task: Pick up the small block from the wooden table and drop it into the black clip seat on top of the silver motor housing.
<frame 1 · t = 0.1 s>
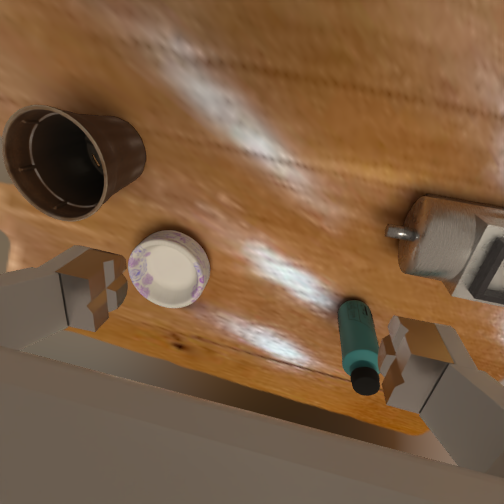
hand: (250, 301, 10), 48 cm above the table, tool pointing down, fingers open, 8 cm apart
motor: (470, 231, 54), on the table
paper bowls: (180, 257, 67), on the table
beverage bottle: (353, 307, 65), on the table
plant pot: (117, 149, 60), on the table
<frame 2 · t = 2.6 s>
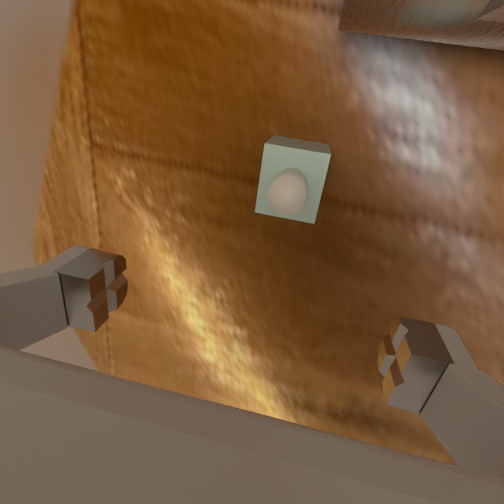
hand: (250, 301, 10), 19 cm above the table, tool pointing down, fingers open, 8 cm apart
block: (295, 170, 27), on the table
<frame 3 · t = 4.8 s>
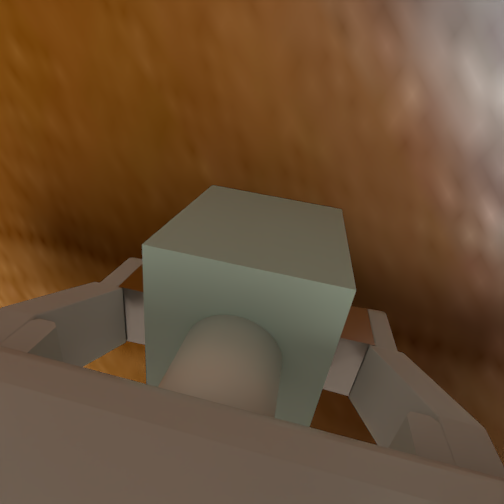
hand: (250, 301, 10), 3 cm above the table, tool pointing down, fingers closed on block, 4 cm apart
block: (264, 260, 12), on the table, touching gripper
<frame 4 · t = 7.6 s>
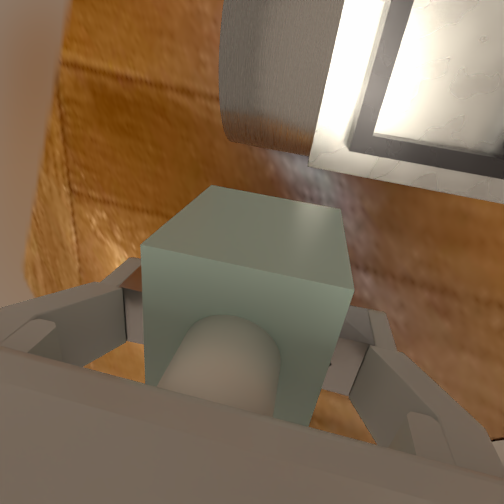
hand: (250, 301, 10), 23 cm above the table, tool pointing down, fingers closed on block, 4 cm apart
motor: (396, 77, 26), on the table
block: (263, 260, 12), point 20 cm above the table, touching gripper
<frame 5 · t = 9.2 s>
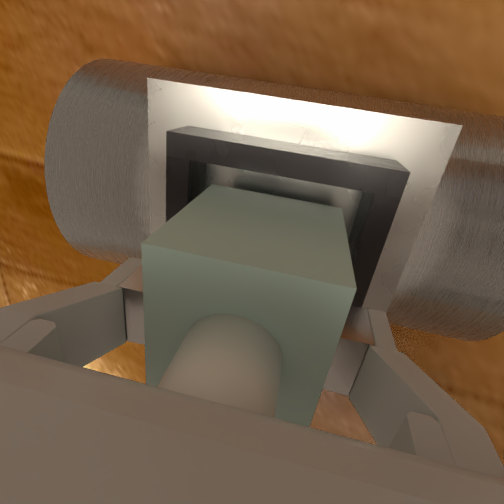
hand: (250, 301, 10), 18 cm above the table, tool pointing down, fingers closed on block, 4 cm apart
motor: (294, 173, 25), on the table
block: (264, 259, 12), point 15 cm above the table, touching gripper
when the fingers open (17 cm above the table, at t = 10.4 s): block stays where it is, resting on motor.
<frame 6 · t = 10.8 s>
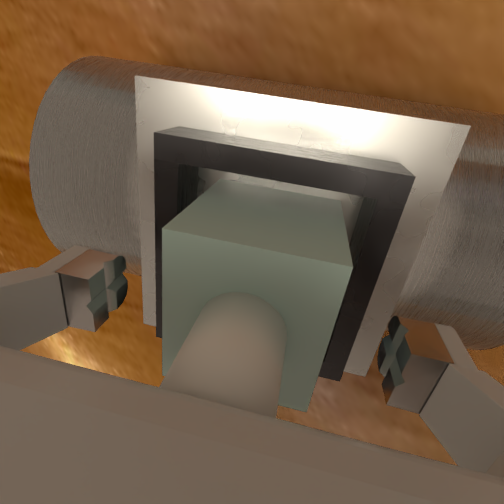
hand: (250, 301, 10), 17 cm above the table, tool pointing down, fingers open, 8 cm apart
motor: (292, 174, 25), on the table
block: (268, 249, 13), point 13 cm above the table, touching motor
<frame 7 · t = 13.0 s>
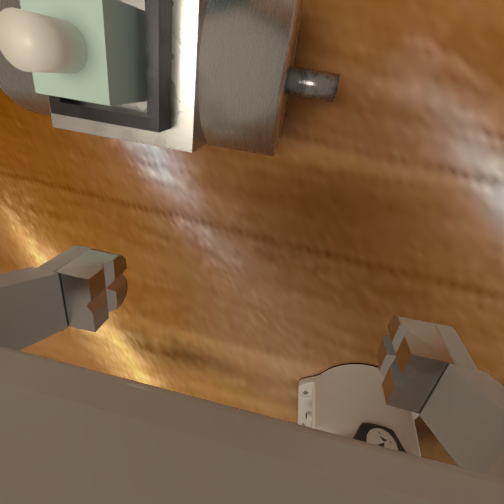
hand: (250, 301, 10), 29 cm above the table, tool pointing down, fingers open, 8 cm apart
motor: (186, 63, 33), on the table
block: (116, 54, 21), point 13 cm above the table, touching motor
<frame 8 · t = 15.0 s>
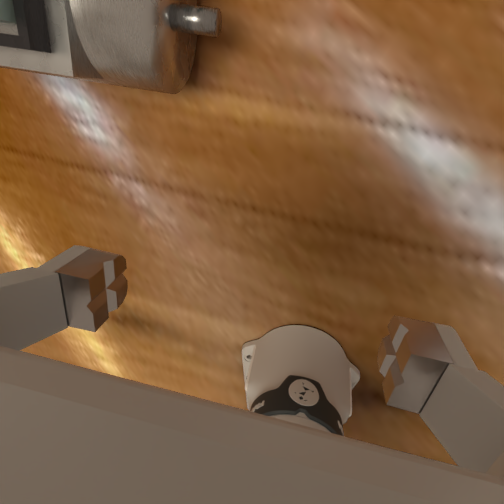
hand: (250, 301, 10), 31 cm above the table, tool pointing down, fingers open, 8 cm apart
motor: (105, 19, 35), on the table
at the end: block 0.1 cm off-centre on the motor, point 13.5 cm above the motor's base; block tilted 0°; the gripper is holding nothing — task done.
